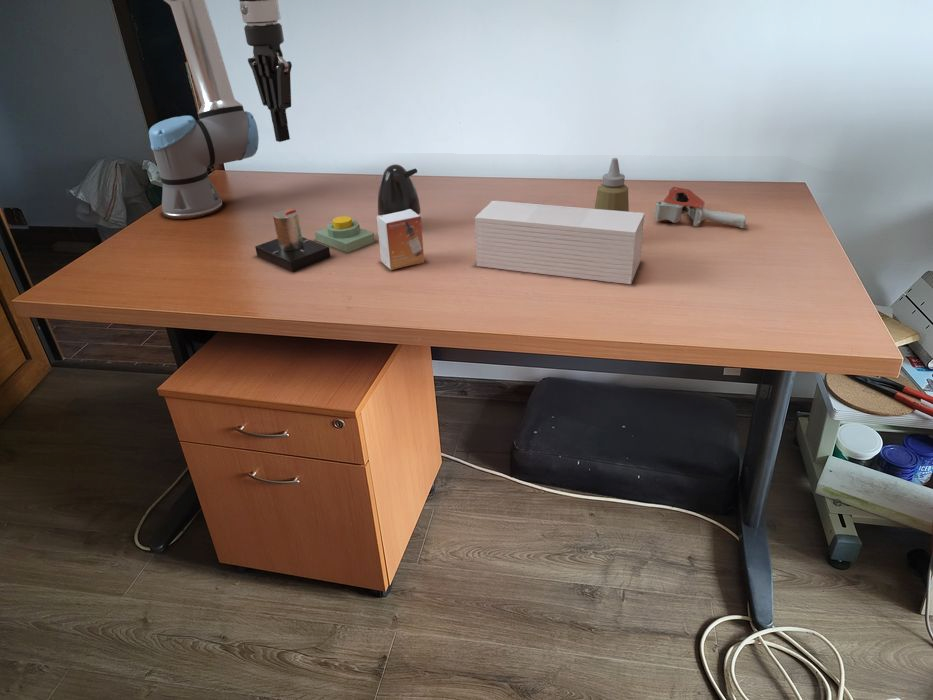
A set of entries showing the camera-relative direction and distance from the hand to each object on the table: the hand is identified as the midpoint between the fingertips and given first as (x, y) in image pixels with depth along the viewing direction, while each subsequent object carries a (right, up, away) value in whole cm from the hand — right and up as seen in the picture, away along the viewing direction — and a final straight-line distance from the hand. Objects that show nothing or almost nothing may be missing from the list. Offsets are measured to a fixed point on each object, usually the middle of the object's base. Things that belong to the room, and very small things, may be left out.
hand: (283, 140), depth 149 cm
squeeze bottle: (+73, -22, 0) cm, 76 cm away
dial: (+2, -24, -1) cm, 24 cm away
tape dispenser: (+94, -17, +8) cm, 96 cm away
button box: (+13, -22, +7) cm, 26 cm away
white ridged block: (+60, -29, -10) cm, 67 cm away
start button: (+13, -18, +5) cm, 23 cm away
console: (+2, -26, 0) cm, 26 cm away
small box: (+27, -28, -5) cm, 40 cm away
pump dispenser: (+25, -17, +13) cm, 33 cm away
